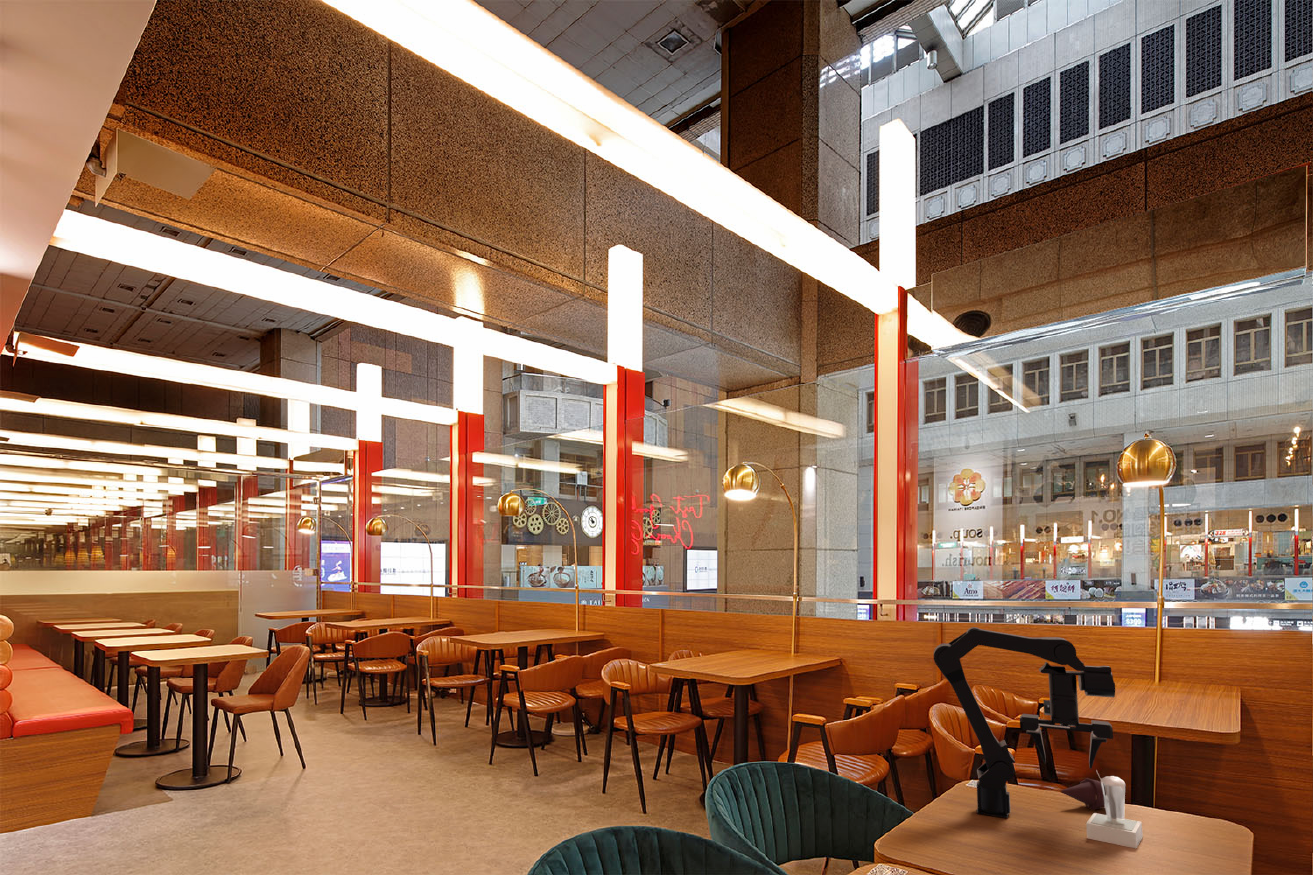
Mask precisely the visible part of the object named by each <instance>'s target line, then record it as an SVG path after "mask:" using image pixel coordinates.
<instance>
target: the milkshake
mask: <svg viewBox="0 0 1313 875" xmlns="http://www.w3.org/2000/svg"><path fill="white" fill-rule="evenodd" d="M1095 771H1096V774H1097V775H1098V778H1099V779H1100V782H1101V785H1102V791H1103V797H1104V804H1105V807H1104V810H1105V815H1106V819H1107V821H1108V822H1110V823H1113V824H1124V819H1125V806H1126V804H1125V803H1126V802H1125V799H1126V796H1125V795H1126V783H1125V781H1124V780H1123V779H1121V778H1120V777H1119V776H1115V775H1110V776H1104V777H1102V778H1101V777H1100V773H1098V770H1097V769H1096V770H1095Z"/></svg>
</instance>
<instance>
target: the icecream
mask: <svg viewBox="0 0 1313 875" xmlns="http://www.w3.org/2000/svg"><path fill="white" fill-rule="evenodd" d="M1060 792H1061V794H1063V795H1065V796H1068V797H1070V798H1071V799H1075V800H1076V801H1079V802H1081V803H1082V804H1084V805H1085V808H1087V809H1090V810H1091V811H1095V810H1098V809H1105V804H1104V797H1103V791H1102V785H1101V781H1099V780H1096V779H1091V778H1088V777H1086V778H1084V779H1083V780H1081V781H1080V782H1079V784H1077V785H1073V786H1071V787H1067V788H1064V789H1061V791H1060Z"/></svg>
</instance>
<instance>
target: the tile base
mask: <svg viewBox="0 0 1313 875" xmlns="http://www.w3.org/2000/svg"><path fill="white" fill-rule="evenodd" d="M1085 824H1086V825H1085V826H1086V838H1087V839H1089V840H1094V841H1099V842H1104V843H1109V844H1112V845H1118V846H1123V847H1127V848H1132V849H1137V848H1138V847H1139V845H1140V843H1141V842H1142V841H1141V840H1142V839H1143V825H1142V824H1143V823H1142V821H1140V820H1139V821H1138V820H1135V819H1133V820H1132V819H1129V818H1128V819H1127V818H1124V824H1113V823H1110V822H1108V821H1107V819H1106V814H1101V813H1097V812H1094V813H1092V815H1091V817H1089V819H1088V820H1087V822H1086V823H1085Z"/></svg>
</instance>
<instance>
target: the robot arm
mask: <svg viewBox="0 0 1313 875" xmlns="http://www.w3.org/2000/svg"><path fill="white" fill-rule="evenodd" d="M977 646H983V647H988V648H993V649H1000V650H1006V651H1010V652H1017V653H1023V654H1029V655H1032V656H1035V657H1037V658H1041V659H1043V660H1045V662H1044V664H1043V665H1041V667H1039V668H1038V672H1040V673H1041V674H1045V675H1046V674H1048V690H1049V693H1048V694H1049V699H1043V715H1044V716H1050V719H1045V718H1044V719H1042V718H1039V716H1040V715H1038V714H1028V713H1022V714H1021V715H1020V716H1019V729H1020V730H1023V731H1026V735H1031V736H1032V738H1033V741H1034V743H1035V744H1036V746H1037V749H1038V752H1039V753H1040V756H1041V759H1042V761H1043V764H1046V763H1047V760H1046V758H1047V757H1046V756H1047V755H1046V751H1045V746H1044V741H1043V740H1044V739H1043V734H1042V729H1050V730H1051V729H1052V730H1061V731H1072V732H1082V733H1090V739H1089V741H1090V742H1089V744H1090V745H1089V754H1088V755H1089V756H1088V764H1089V769H1090V770H1091V769H1093V766H1094V762H1095V759H1096V755H1097V752H1098V750H1099V748H1100V747H1101V745H1102V743H1107V742H1108V739H1109V740H1113V739H1114V730H1113V725H1112V724H1111V723H1110V722H1109V721H1105V720H1095V719H1094V720H1092V719H1091V723H1085V722H1080V715H1079V702H1078V700H1079V698H1078V688H1079V691H1080V692H1083V691H1084V694H1085V696H1087V697H1099V698H1115V697H1116V683H1115V681H1114V677H1113V673H1112V667H1111V666H1109V665H1100V666H1099V665H1085V664H1084V663H1085V662H1083V661H1081V660H1080V659H1079V657H1078V656H1077V649H1076V648H1075V647H1076V646H1075V645H1073V643H1072V642H1071V641H1069V640H1066V639H1065V638H1063V637H1059V636H1042V637H1041V636H1040V637H1031V636H1024V635H1018V634H1012V633H1007V632H1000V631H994V630H990V629H989V630H988V629H983V628H982V629H981V628H980V627H975V626H973V627H969V628H968V629H967V631H965V632H964V633H962V634H961V635H959V636H957V637H956V638H954V639H953V640H952V641H949V642H948V643H944V642H943V643H940V644H938V645H937V646H936V647H935V648H934V649H933V650H934V651H933V661H934V663H935V665H936V667H937V668H938V669H939V671H940V672H941V673H942V675H943V676H944V678H945V679H946V680H947V681H948V683H949V684H950V686H951V687H952V689H953V691H954V694H956V697H957V699H958V701H959V703H960V705H961V707H962V709H963V712H964V713H965V715H966V717H967V719H968V721H969V723H970V726H971V727H972V729H973V732H974V734H975V736H976V738H977V740H978V743H979V744H980V749H981V751H982V754H983V758H984V761H985V762H983V763H982V764H981V765H980V766H979V767H978V768H977V769H976V772H977V773H976V774H977V777H978V780H977V781H976V801H977V802H976V803H977V808H976V814H978V815H984V816H991V817H998V818H1004V819H1008V817H1009V814H1011V796H1010V795H1011V794H1010V791H1008V790H1007V786H1008V785H1007V782H1009V781H1010V780H1012V779H1013V777H1014V776H1015V773H1016V772H1015V771H1016V770H1015V765H1014V764H1015V763H1016V760H1015V759H1014V755H1013V754H1011V752H1010V751H1009V749H1008V748H1009V747H1008V745H1007V743H1006V740H1005V739H1003V740H1001V741H999V739H998V738H997V737H996V736H995V735H994V734H993V731H992V729H991V726H990V725H989V723H988V721H987V720H986V717H985V715H984V713H983V711H982V709H981V706H980V705H979V703H978V700H977V699H976V697H975V695H974V692H973V691H972V689H971V686H970V685H969V683H968V680H967V679H966V675H965V673H964V670H963V666H962V662H961V659H962V658H963V657H965V656H966V655H967V654H969V653H970V652H971V651H972V650H974V649H975V648H976V647H977ZM1047 661H1049V662H1051V663H1053V664H1056V665H1050V664H1049V662H1047ZM1059 665H1060V666H1059ZM1065 666H1069V667H1070V668H1072V669H1073V670H1067V669H1066V667H1065ZM1077 676H1078V677H1077ZM1077 678H1078V679H1077ZM1077 680H1078V685H1077ZM1041 728H1042V729H1041Z"/></svg>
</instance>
